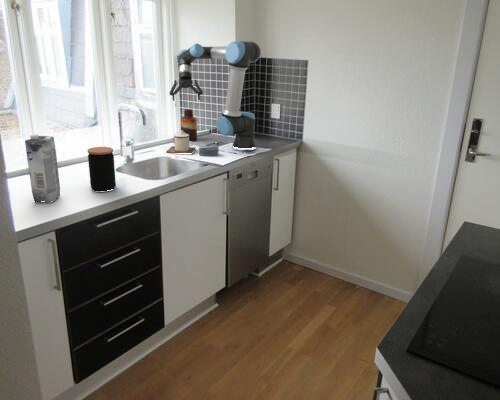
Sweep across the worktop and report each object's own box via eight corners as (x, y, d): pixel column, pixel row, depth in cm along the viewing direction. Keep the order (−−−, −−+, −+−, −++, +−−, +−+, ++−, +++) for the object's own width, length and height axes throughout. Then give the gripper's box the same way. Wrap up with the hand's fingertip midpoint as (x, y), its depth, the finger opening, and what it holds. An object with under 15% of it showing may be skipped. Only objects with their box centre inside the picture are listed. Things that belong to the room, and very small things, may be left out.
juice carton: (63, 195, 185) (55, 132, 176) (53, 204, 176) (45, 138, 166) (41, 194, 185) (33, 131, 176) (30, 203, 175) (21, 137, 166)
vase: (191, 137, 302) (191, 108, 295) (199, 140, 294) (199, 110, 287) (177, 139, 295) (177, 109, 288) (186, 142, 288) (185, 111, 281)
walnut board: (195, 149, 271) (195, 147, 270) (191, 154, 258) (191, 152, 257) (172, 148, 272) (172, 146, 271) (166, 153, 258) (166, 151, 258)
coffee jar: (107, 183, 202) (104, 145, 196) (120, 188, 196) (118, 149, 190) (86, 188, 195) (82, 149, 188) (99, 194, 188) (96, 153, 182)
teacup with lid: (192, 149, 264) (192, 130, 260) (182, 152, 257) (181, 132, 253) (178, 146, 271) (178, 127, 267) (167, 149, 264) (167, 129, 260)
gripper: (205, 76, 278) (207, 106, 273) (165, 77, 276) (166, 108, 271) (205, 70, 271) (206, 101, 266) (164, 71, 269) (165, 102, 263)
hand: (186, 104), depth 268 cm, fingers open, 13 cm apart
